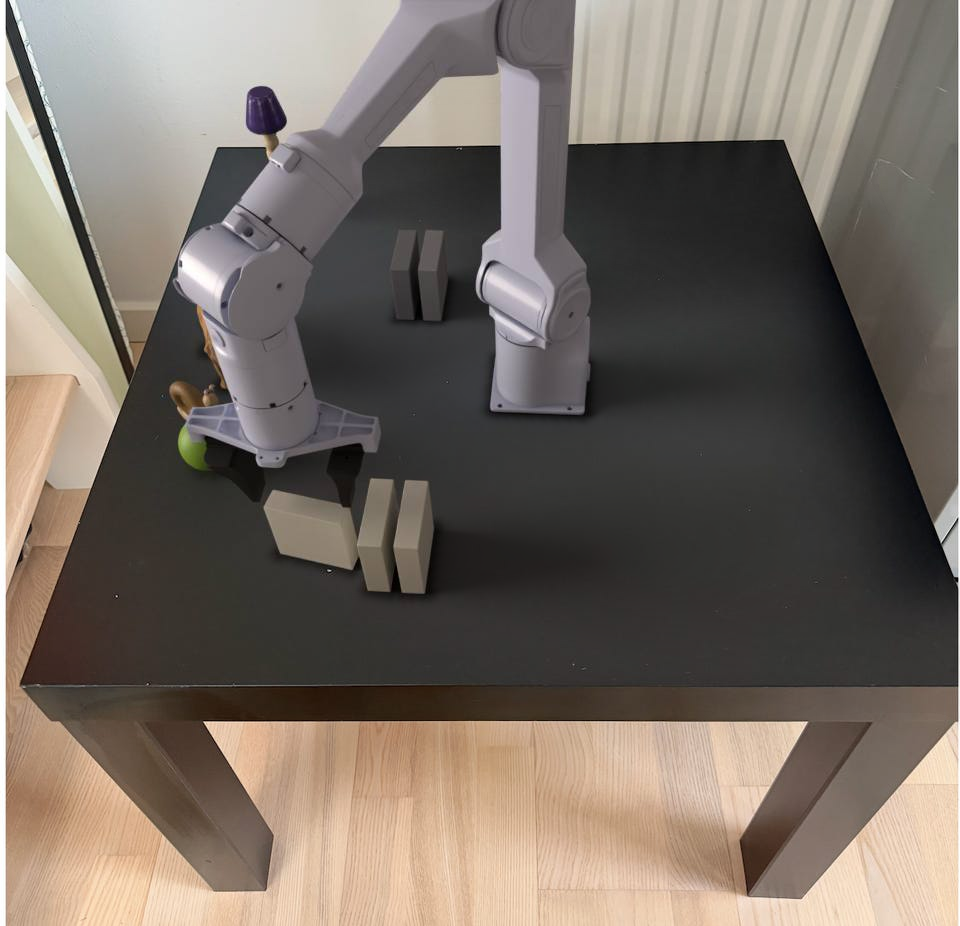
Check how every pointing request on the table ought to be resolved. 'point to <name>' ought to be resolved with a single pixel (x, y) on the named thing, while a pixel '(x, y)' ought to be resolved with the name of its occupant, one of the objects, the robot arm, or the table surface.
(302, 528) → the beige square slab
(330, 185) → the robot arm
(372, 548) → the beige square block
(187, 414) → the snail figurine
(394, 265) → the grey square slab
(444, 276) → the gray square slab
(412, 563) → the beige square block
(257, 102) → the toy lamp
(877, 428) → the table surface
